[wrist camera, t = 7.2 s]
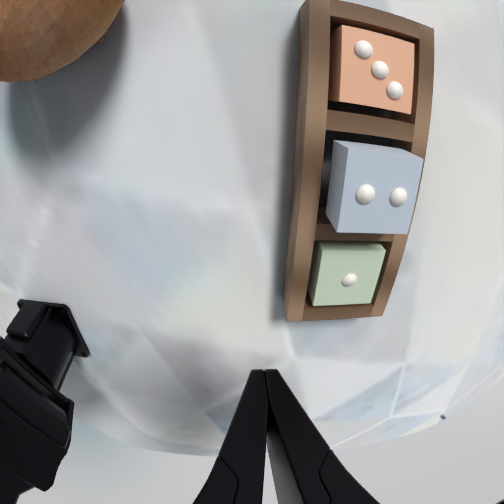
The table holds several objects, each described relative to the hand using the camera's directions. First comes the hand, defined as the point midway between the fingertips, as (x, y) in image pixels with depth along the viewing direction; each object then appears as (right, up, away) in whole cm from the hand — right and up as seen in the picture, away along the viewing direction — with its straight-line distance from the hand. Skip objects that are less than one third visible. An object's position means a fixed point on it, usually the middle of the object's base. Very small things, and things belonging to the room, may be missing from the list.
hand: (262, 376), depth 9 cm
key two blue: (+6, +8, +5) cm, 11 cm away
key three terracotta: (+6, +14, +4) cm, 15 cm away
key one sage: (+5, +4, +10) cm, 12 cm away
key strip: (+5, +9, +7) cm, 13 cm away
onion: (-11, +19, +1) cm, 21 cm away
